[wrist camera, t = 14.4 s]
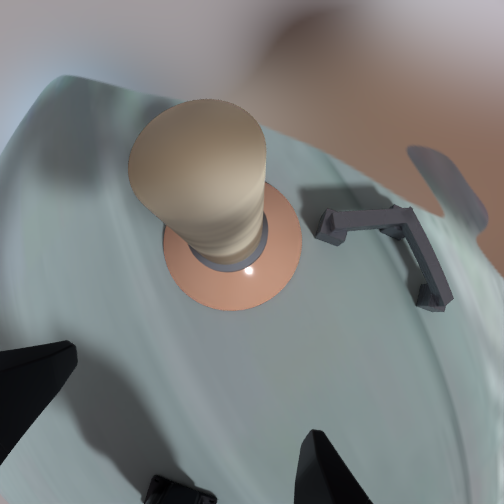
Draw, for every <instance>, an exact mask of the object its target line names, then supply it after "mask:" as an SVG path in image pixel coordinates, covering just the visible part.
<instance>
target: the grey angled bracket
mask: <svg viewBox="0 0 504 504" xmlns="http://www.w3.org/2000/svg"><path fill="white" fill-rule="evenodd" d="M380 228H381V231H380V232H381V233H384V234H386V235H388V236H391V237H393V238H395V239H397V240H401V239H403V238H406V240H407V241H408V243H409V245H410V247H411V249H412V251H413V253H414V255H415V258H416V260H417V262H418V264H419V266H420V268H421V270H422V273H423V275H424V277H425V279H426V281H427V284H421V289H420V293H419V297H418V301H417V305H416V306H417V307H420V308H423V309H425V310H428V311H431V312H444V311H445V307H446V305H447V304H448V303H449V302H450V301H452V300H453V299H454V298H453V295H452V292H451V290H450V287H449V285H448V282H447V280H446V277H445V275H444V273H443V270H442V268H441V266H440V263H439V261H438V259H437V257H436V255H435V252H434V250H433V248H432V246H431V244H430V242H429V240H428V238H427V236H426V234H425V232H424V230H423V228H422V226H421V224H420V222H419V221H418V219H417V217H416V215H415V213H414V211H413V208H411V207H409V208H401V207H399V206H397V205H395V204H394V205H393V206H391V207H390V208H389V209H376V210H359V211H344V212H337V211H334V210H331V209H329V208H327V209H326V211H325V212H324V214H323V215H322V217H321V220H320V224H319V227H318V230H317V233H316V236H315V238H316V239H319V240H322V241H324V242H327V243H330V244H332V245H335V246H339V245H340V244H342V243H343V242H344V241H345V239H346V235H347V231H356V230H368V229H380Z"/></svg>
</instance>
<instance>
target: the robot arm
mask: <svg viewBox="0 0 504 504" xmlns="http://www.w3.org/2000/svg"><path fill="white" fill-rule="evenodd" d="M77 363H78V359H77V350H76V346H75V345H74V344H73V343H71V342H70V341H67V340H66V341H60V342H55V343H49V344H44V345H38V346H32V347H26V348H20V349H13V350H7V351H0V465H1V464H2V463H3V461H4V460H5V459H6V457H7V456H8V454H9V453H10V452H11V450H12V449H13V448H14V446H15V445H16V444H17V443H18V441H19V440H20V439H21V437H22V436H23V435H24V434H25V432H26V431H27V430H28V429H29V427H30V426H31V425H32V424H33V422H34V421H35V420H36V419H37V417H38V416H39V415H40V414H41V413H42V411H43V410H44V409H45V408H46V407H47V405H48V404H49V403H50V402H51V401H52V399H53V398H54V397H55V396H56V395H57V393H58V392H59V391H60V389H61V388H62V387H63V385H64V384H65V382H66V381H67V379H68V378H69V376H70V375H71V373H72V372H73V370H74V369H75V367H76V366H77ZM156 479H158V480H156ZM368 499H369V497H368V496H367V495H366V493H365V492H364V490H363V489H362V487H361V486H360V485H359V483H358V482H357V480H356V479H355V477H354V476H353V475H352V473H351V472H350V470H349V469H348V467H347V466H346V464H345V463H344V461H343V460H342V459H341V457H340V456H339V454H338V453H337V451H336V450H335V448H334V447H333V445H332V444H331V442H330V441H329V439H328V438H327V436H326V435H325V433H324V432H323V431H321V430H315V429H312V430H311V431H310V432H309V433H308V435H307V436H306V438H305V439H304V441H303V442H302V445H301V449H300V455H299V461H298V467H297V473H296V479H295V492H294V504H373V503H372V501H371V500H370V499H369V500H368ZM211 500H213V501H211ZM216 503H217V498H216V497H214V496H211V495H208V494H205V493H202V492H199V491H196V490H193V489H190V488H188V487H185V486H182V485H180V484H177V483H175V482H172V481H170V480H168V479H165V478H163V477H161V476H158V475H154V476H153V478H152V480H151V483H150V486H149V489H148V493H147V496H146V499H145V502H144V504H216Z"/></svg>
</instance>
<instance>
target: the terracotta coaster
mask: <svg viewBox="0 0 504 504" xmlns="http://www.w3.org/2000/svg"><path fill="white" fill-rule="evenodd" d="M263 211H264V213H265V215H266V218H267V221H268V238H267V243H266V246H265V249H264V251H263V252H262V254H261V255H260V257H259V258H258V259H257V260H256V261H255V262H254V263H253V264H252V265H250V266H249V267H247V268H245V269H243V270H240V271H236V272H219V271H215V270H213V269H210V268H208V267H207V266H205V265H204V264H202V263H201V262H200V261H199V260H198V259H197V258H196V257H195V256H194V255H193V254H192V252H191V250H190V248H189V246H188V243H187V242H185V241H184V240H183V239H182V238H181V237H180V236H179V235H177V234H176V233H175V232H174V231H173V230H172V229H170V228H169V227H168V226H167V225H166V229H165V233H164V255H165V260H166V263H167V267H168V269H169V271H170V274H171V276H172V277H173V279H174V281H175V282H176V284H177V285H178V286H179V287H180V288H181V289H182V291H183V292H185V293H186V294H187V295H188V296H189V297H191V298H192V299H194V300H195V301H197V302H199V303H201V304H203V305H205V306H207V307H211V308H214V309H219V310H227V311H236V310H244V309H248V308H252V307H255V306H258V305H260V304H262V303H264V302H266V301H268V300H270V299H271V298H272V297H274V296H275V295H276V294H278V293H279V292H280V291H281V290H282V289H283V288H284V287H285V285H286V284H287V283H288V282H289V280H290V279H291V277H292V275H293V274H294V272H295V270H296V267H297V265H298V262H299V258H300V255H301V247H302V235H301V228H300V224H299V221H298V218H297V216H296V213H295V211H294V209H293V208H292V206H291V204H290V203H289V202H288V200H287V199H286V198H285V197H284V196H283V195H282V194H281V193H280V192H279V191H278V190H277V189H275V188H274V187H272V186H271V185H269V184H268V183H266V182H265V189H264V208H263Z"/></svg>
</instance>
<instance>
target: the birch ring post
mask: <svg viewBox="0 0 504 504" xmlns="http://www.w3.org/2000/svg"><path fill="white" fill-rule="evenodd" d="M265 168H266V142H265V137H264V134H263V132H262V129H261V127H260V126H259V124H258V123H257V121H256V120H255V119H254V118H253V117H252V116H251V115H250V114H249V113H248V112H247V111H245V110H244V109H242V108H241V107H239V106H236V105H234V104H232V103H229V102H225V101H221V100H214V99H201V100H193V101H188V102H184V103H181V104H178V105H176V106H174V107H171V108H169V109H167V110H166V111H164V112H162V113H161V114H159V115H158V116H157V117H155V118H154V119H153V120H152V121H151V122H150V123H149V124H148V125H147V126H146V127H145V128H144V129H143V130H142V132H141V133H140V134H139V136H138V138H137V139H136V141H135V143H134V145H133V147H132V150H131V153H130V157H129V163H128V175H129V180H130V184H131V187H132V189H133V191H134V193H135V195H136V196H137V198H138V199H139V200H140V201H141V202H142V204H143V205H144V206H146V207H147V208H148V209H149V210H150V211H151V212H152V213H153V214H155V215H156V216H157V217H158V218H159V219H160V220H161V221H162V222H164V223H165V224H166V225H167V226H168V227H169V228H170V229H172V230H173V231H174V232H175V233H176V234H177V235H179V236H180V237H181V238H182V239H183V240H184V241H185V242H187V243H188V246H189V248H190V250H191V252H192V254H193V255H194V256H195V257H196V258H197V259H198V260H199V261H200V262H201V263H202V264H204V265H205V266H207V267H208V268H210V269H213V270H215V271H219V272H236V271H240V270H243V269H245V268H247V267H249V266H250V265H252V264H253V263H254V262H255V261H256V260H257V259H258V258H259V257H260V255H261V254H262V252H263V251H264V249H265V246H266V243H267V238H268V221H267V218H266V215H265V213H264V211H263V208H264V189H265Z"/></svg>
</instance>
